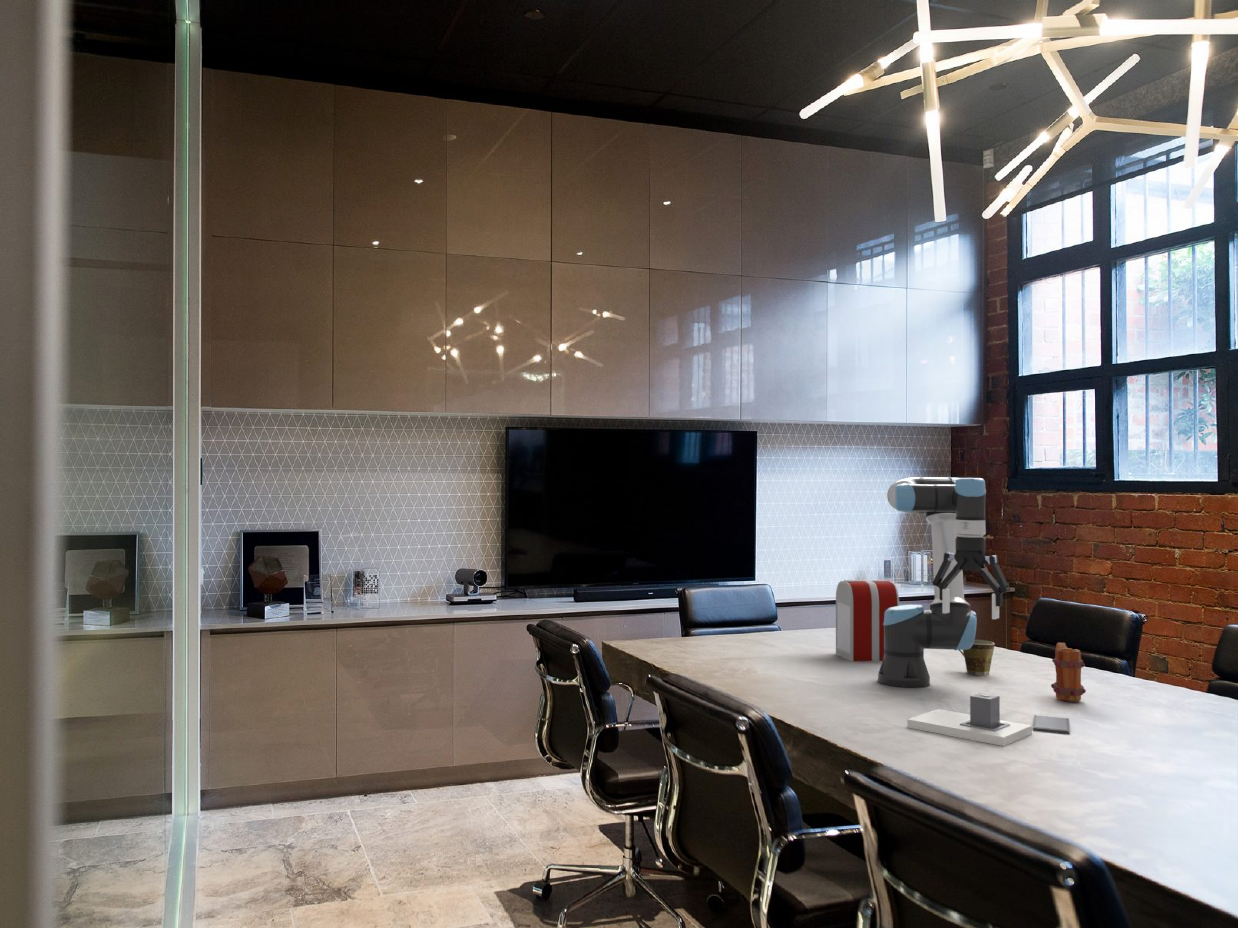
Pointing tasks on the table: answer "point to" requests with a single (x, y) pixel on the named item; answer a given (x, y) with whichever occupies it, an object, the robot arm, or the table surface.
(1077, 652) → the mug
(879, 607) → the red striped box
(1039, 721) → the phone
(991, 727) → the grey rectangular block
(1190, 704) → the table surface
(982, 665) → the ceramic cup
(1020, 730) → the outlet plate
